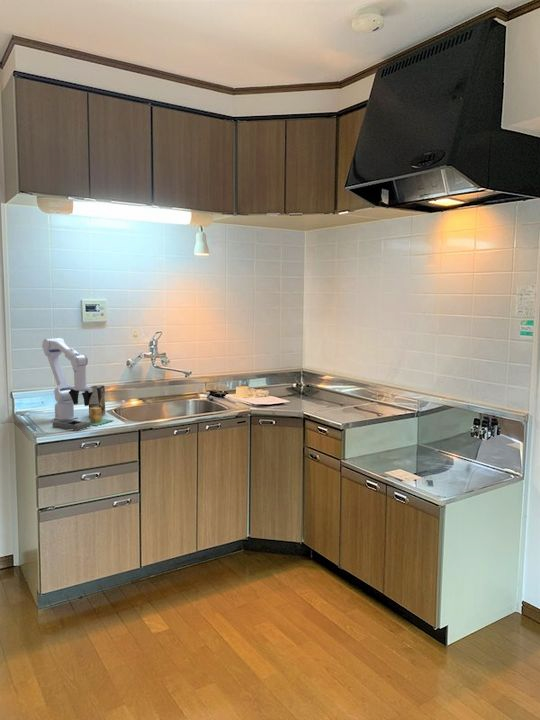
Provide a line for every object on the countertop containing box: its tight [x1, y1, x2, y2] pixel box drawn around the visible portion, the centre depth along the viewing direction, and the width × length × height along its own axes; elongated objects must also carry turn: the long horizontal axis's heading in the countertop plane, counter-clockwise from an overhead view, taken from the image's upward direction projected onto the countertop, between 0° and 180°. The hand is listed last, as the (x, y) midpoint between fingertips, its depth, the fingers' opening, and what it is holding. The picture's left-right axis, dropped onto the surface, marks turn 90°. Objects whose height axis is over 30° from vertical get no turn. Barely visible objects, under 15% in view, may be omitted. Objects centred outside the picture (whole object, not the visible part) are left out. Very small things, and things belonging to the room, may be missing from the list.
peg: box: [89, 407, 103, 423], centre depth 283 cm, size 4×4×7 cm
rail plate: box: [52, 419, 91, 431], centre depth 273 cm, size 17×8×3 cm, turn 63°
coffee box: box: [88, 385, 106, 418], centre depth 298 cm, size 9×6×16 cm
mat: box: [82, 418, 114, 427], centre depth 283 cm, size 12×12×1 cm
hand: (81, 404), depth 281 cm, fingers open, 7 cm apart
